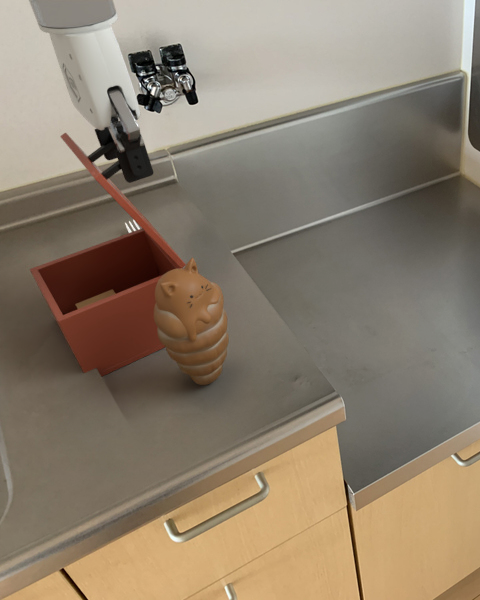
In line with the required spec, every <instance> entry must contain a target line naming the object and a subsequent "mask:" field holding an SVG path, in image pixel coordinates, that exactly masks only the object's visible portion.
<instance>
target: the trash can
mask: <svg viewBox="0 0 480 600" xmlns="http://www.w3.org/2000/svg"><path fill="white" fill-rule="evenodd" d="M135 230H136V231H133V230H132V232H131V233H128V232H127V233H126V234H122V235H120V236H117V237H114V238H112V239H108V240H105V241H103V242H100V243H98V244H95V245H93V246H90V247H87V248H83V249H81V250H78V251H76V252H73V253H70V254H67V255H65V256H62V257H59V258H56V259H54V260H50V261H48V262H45V263H42V264H40V265H37V266H34V267H32V268H29V271H30V273H31V275H32V277H33V279H34V281H35V283H36V285H37V287H38V289H39V291H40V293H41V294H42V296H43V299H44V301H45V303H46V304H47V306H48V308H49V311H50V312H51V314H52V316H53V318H54V321H55V322H56V324H57V326H58V328H59V329H60V331H61V333H62V335H63V337H64V339H65V340H66V342H67V344H68V346H69V348H70V350H71V352H72V353H73V354H72V355H74V357H75V359H76V361H77V363H78V364H79V366H80V368H81V370H82V373H83V374H86V373H89V372H90V371H93V370H95V369H96V370H97V372H98V373H99V376H100V377H104V376H106V375H108V374H111V373H113V372H115V371H118V370H119V369H122V368H124V367H126V366H127V365H130V364H132V363H134V362H136V361H138V360H141V359H143V358H145V357H148V356H150V355H151V354H153V353H156V352H158V351H160V350H162V349H164V348H165V349H166V347H165V346H164V345H163V344H162V343H161V342H160V340H159V338H158V334H157V325H156V323H155V321H154V306H155V303H156V300H155V288H156V285H157V282H158V280H159V279H160V278H161V277H162V276H163V275H164V274H165V273H167V272H168V271H171V270H173V269H179V268H180V267H179V266H178V265H177V264H176V263H175V262H174V261H173V260H172V259H171V258H170V257H169V256H168V255H167V254H166V253H165V251H164V250H163V249H162V248H161V247H160V246H159V245H158V244H157V243H156V242H155V241H154V240H153V239H152V238H151V237H150V236H149V235H148V234H147V233H146V232H145V231H144V230H143V229H142V228H140V229H139V230H138V229H135ZM112 289H113V290H114V292H115V293H116V294H114V295H112V296H109V297H107V298H104V299H102V300H99V301H97V302H95V303H92V304H90V305H87V306H85V307H82V308H80V309H77V308H76V305H75V304H77V303H79V302H82V301H84V300H87V299H89V298H92V297H94V296H97V295H99V294H102V293H104V292H107V291H109V290H112Z"/></svg>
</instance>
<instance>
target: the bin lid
mask: <svg viewBox="0 0 480 600" xmlns="http://www.w3.org/2000/svg"><path fill="white" fill-rule="evenodd" d="M117 132H118V134H119V137H120V136H121V133H123V132H121V131H119V130H117ZM60 138H61V139H62V141H63V142H64V143H65V144H66V146H67V147H68V148H69V150H70V151H71V152H72V153H73V154H74V155H75V157H76V158H77V159H78V160H79V161H80V163H81V164H82V166H83V167H84V168H85V169H86V170H87V172H88V173H89V174H90V175H91V176H92V177H93V179H94V180H95V181H96V182H97V183H98V184H99V185H100V186H101V187H102V188H103V189H104V190H105V191H106V192H107V193H108V195H109V196H111V197H112V199H113V200H114V201H115V202H116V203H117V204H118V205H119V206H120V207H121V208H122V209H123V210H124V211H125V212H126V213H127V214H128V215H129V216H130V218H132V220H135V222H136V223H137V225H138V226H139V227H140V229H143V230H144V231H145V232H146V233H147V234H148V235H149V236H150V237H151V238H152V239H153V240H154V241H155V242H156V243H157V244H158V245H159V246H160V247H161V248H162V249H163V250H164V251H165V253H166V254H167V255H168V256H169V257H170V258H171V259H172V260H173V261H174V262H175V263H176V264H177V265H178V266H179V267H180V268H185V266H186V264H187V263H186V262H185V261H184V260H183V259H182V258H181V257H180V256H179V254H177V252H176V251H175V250H174V249H173V248H172V246H171V245H170V244H169V243H168V242H167V241H166V239H165V238H164V237H163V236H162V235H161V234H160V232H159V231H158V230H157V229H156V228H155V227H154V225H153V224H152V223H151V222H150V221H149V220H148V219H147V218H146V217H145V215H144V214H143V213H141V211H140V210H139V209H138V208H137V207H136V206H135V205H134V204H133V203H132V202H131V200H129V198H128V197H127V196H126V195H125V194H124V193H123V192H122V191H121V190H120V189H119V188H118V186H117V185H116V184H115V183H113V181H112V180H111V179H110V178H111V177H113V176H114V175H115V174H117V173H118V172H120V171H122V169H121V167H120V164H119V161H118V160H117V161H115V162H114V163H112V164H111V165H110V166H109V167H107V168H106V169H105V170H101V168H100V167H99V166H98V165H97V164H96V163H95V162H96V161H97V160H99V159H100V158H101V157H102V156H104V154H105V153H107V152H108V151H109V150H111V149H112V148H113V147H116V144H115V142H114V140H113V138H112V135H111V134H110V136H109V139H110V140H109V141H108V142H106V143H105V144H104V145H102V146H100V147H98V148H97V149H96V150H94V151H93V152H91V153H90V154H89V155H87V154H86V152H85V151H84V150H83V149H82V148H81V147H80V146H79V145H78V144H77V143H76V142H75V141H74V139H72V138H71V137H70V135H69V134H68V133H67V132H64V133H63V134H61V135H60ZM120 139H121V137H120ZM116 148H117V147H116Z"/></svg>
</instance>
